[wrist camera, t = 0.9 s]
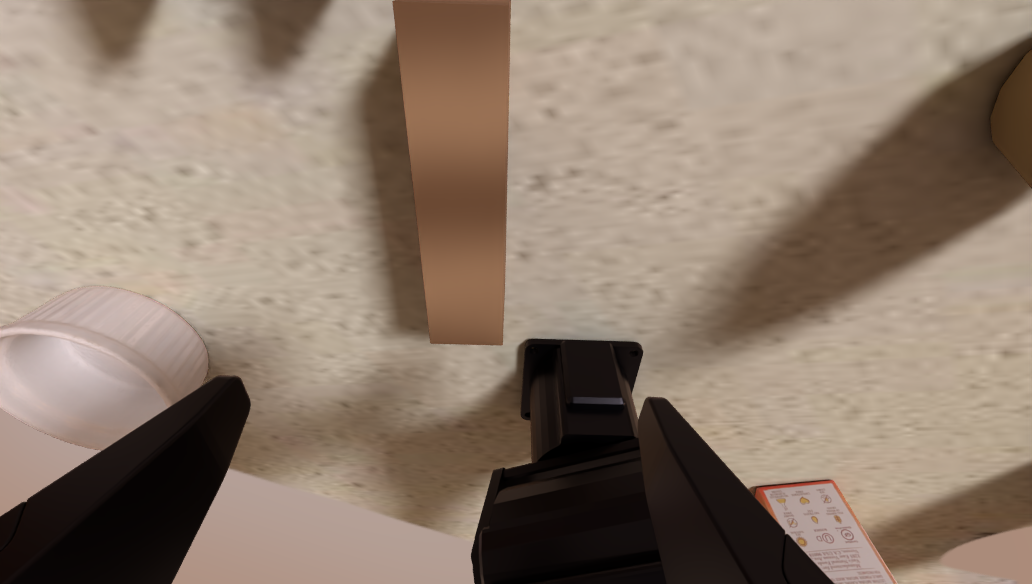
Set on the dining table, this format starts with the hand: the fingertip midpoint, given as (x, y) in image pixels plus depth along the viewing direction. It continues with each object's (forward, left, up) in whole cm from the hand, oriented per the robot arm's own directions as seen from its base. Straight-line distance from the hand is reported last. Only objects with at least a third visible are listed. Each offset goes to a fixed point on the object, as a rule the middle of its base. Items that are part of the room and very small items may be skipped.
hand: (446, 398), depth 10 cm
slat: (+1, 0, -12) cm, 12 cm away
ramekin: (-10, +19, -12) cm, 25 cm away
